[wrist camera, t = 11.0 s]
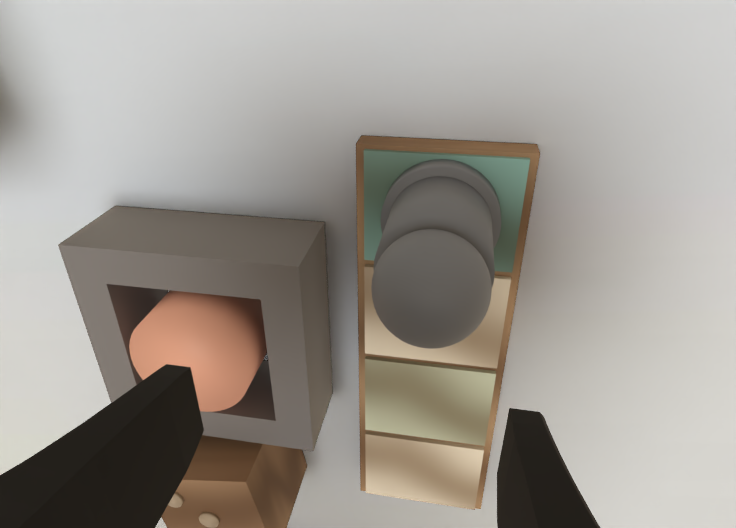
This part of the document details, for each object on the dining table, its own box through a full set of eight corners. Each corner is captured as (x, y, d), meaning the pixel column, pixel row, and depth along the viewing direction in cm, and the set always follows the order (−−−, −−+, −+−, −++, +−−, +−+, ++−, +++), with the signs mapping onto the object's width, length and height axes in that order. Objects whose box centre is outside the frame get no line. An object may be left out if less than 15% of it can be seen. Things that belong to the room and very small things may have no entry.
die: (307, 465, 28) (275, 559, 24) (222, 463, 29) (177, 552, 25) (283, 395, 26) (244, 485, 21) (193, 396, 27) (137, 481, 23)
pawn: (493, 268, 19) (500, 394, 13) (383, 259, 20) (347, 376, 14) (507, 162, 17) (522, 258, 11) (384, 155, 18) (343, 244, 12)
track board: (480, 491, 27) (480, 512, 26) (364, 473, 28) (359, 493, 27) (537, 144, 18) (540, 155, 17) (361, 135, 19) (354, 145, 18)
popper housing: (332, 392, 25) (313, 451, 22) (158, 370, 26) (118, 422, 23) (324, 222, 21) (298, 266, 18) (114, 205, 22) (57, 244, 19)
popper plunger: (282, 361, 24) (255, 418, 21) (184, 349, 25) (144, 403, 22) (273, 270, 21) (240, 321, 18) (164, 260, 22) (115, 307, 19)
